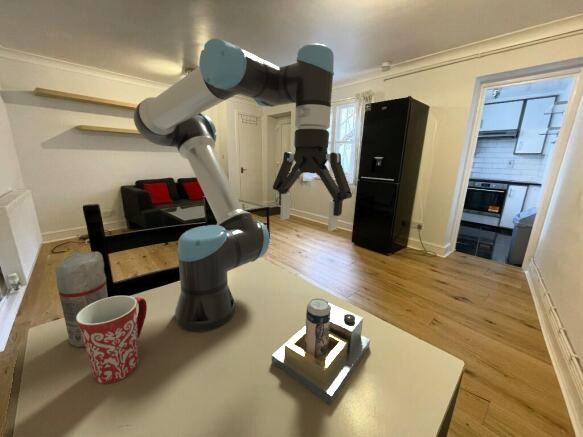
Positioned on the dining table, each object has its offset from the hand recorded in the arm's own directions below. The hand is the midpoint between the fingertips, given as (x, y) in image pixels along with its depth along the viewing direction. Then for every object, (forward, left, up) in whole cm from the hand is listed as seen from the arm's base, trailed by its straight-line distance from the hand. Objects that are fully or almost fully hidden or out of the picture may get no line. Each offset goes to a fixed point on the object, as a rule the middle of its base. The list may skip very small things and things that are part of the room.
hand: (307, 224), depth 58 cm
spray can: (-34, -36, -27) cm, 56 cm away
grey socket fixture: (+10, -6, -27) cm, 29 cm away
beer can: (+10, -9, -25) cm, 28 cm away
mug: (-20, -34, -27) cm, 48 cm away
